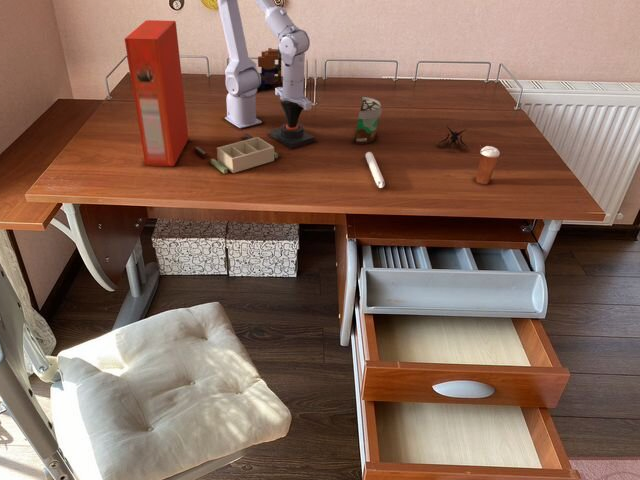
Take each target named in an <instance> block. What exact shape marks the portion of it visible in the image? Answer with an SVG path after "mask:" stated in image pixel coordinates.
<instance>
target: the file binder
mask: <svg viewBox="0 0 640 480" xmlns="http://www.w3.org/2000/svg"><path fill="white" fill-rule="evenodd" d="M124 44H125V50H126V57H127V63H128V68H129V75H130V79H131V80H130V81H131V86H132V87H131V88H132V93H133V98H134V105H135V111H136V115H137V117H136V118H137V123H138V129H139V136H140V141H141V147H142V152H143V153H142V154H143V159H144V165H145V166H153V167H156V166H157V167H173V166H175V165H176V164H177V161H178V159H179V158H180V155H181V153H182V152H183V150H184V147H185V146H186V144H187V142H188V140H189V131H188V130H189V129H188V121H187V113H186V112H187V111H186V104H185V103H186V102H185V94H184V84H183V75H182V66H181V57H180V49H179V39H178V29H177V22H176V21H175V20H159V19H158V20H157V19H156V20H154V19H151V20H150V19H147V20H145V21H144V22H142V23H141V24H140V25H139V26H138V27H137V28H135V29H134V30H132V32H130V33H129V34H128V35H127V36H126V37H125V38H124Z"/></svg>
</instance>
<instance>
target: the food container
mask: <svg viewBox="0 0 640 480" xmlns="http://www.w3.org/2000/svg"><path fill="white" fill-rule="evenodd" d="M382 110H383V108H382V104H381V102H380V101H378V100H377V99H375V98H372V97H367V96H362V99H361V105H360V110H359V112H358V118H357V119H358V120H357V129H356V140H355V141H356V142H355V144H358V145H361V144H362V145H364V144H368V143H372V142H374V140H375V138H376V133H377V128H378V124H379V123H378V122H379V118H380V116H381V115H382V113H383V111H382Z"/></svg>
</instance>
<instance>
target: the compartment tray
mask: <svg viewBox="0 0 640 480" xmlns="http://www.w3.org/2000/svg"><path fill="white" fill-rule="evenodd" d="M274 151H275V147H274V145H272V144H270V143H268V142H267V141H265V140H264V139H262V138H261V137H259V136H256V137H253V138H252V139H248V140H246V139H245V140H241V141H237V142H233V143H230V144H226V145H223V146H219V147H216V156H217V157H216V158H217V161H218V162H219V163H220V164H222V165H223V166H224V167H226V168H227V171H229V172H230V173H232V174H234V173H238V172H241V171H245V170H249V169H251V168H255V167H258V166H261V165H264V164H268V163H271V162H275V158H274Z"/></svg>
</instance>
